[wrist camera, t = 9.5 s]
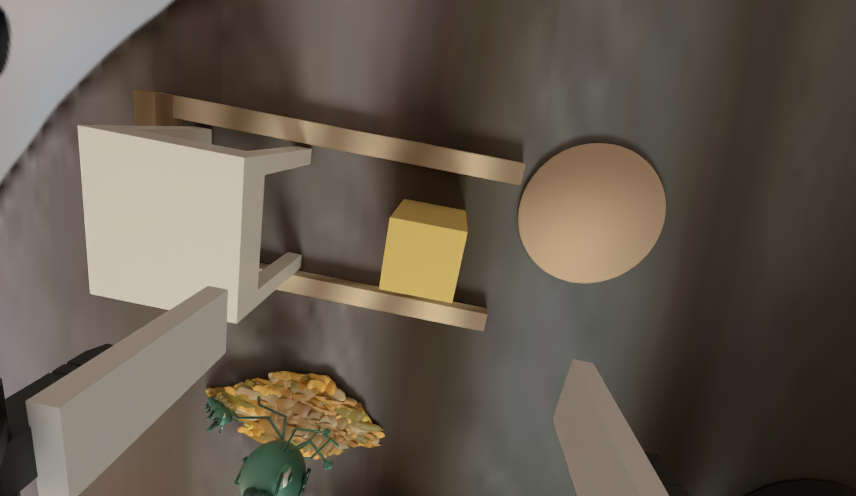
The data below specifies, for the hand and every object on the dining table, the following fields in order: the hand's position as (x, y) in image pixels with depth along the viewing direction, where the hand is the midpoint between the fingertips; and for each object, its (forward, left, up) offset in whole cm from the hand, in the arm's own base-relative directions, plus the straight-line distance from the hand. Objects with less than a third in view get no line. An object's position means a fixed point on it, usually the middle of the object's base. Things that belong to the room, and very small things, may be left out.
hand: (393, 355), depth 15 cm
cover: (+15, 0, -18) cm, 24 cm away
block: (0, 0, -18) cm, 18 cm away
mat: (-12, -4, -18) cm, 22 cm away
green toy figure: (+9, +19, -19) cm, 28 cm away
